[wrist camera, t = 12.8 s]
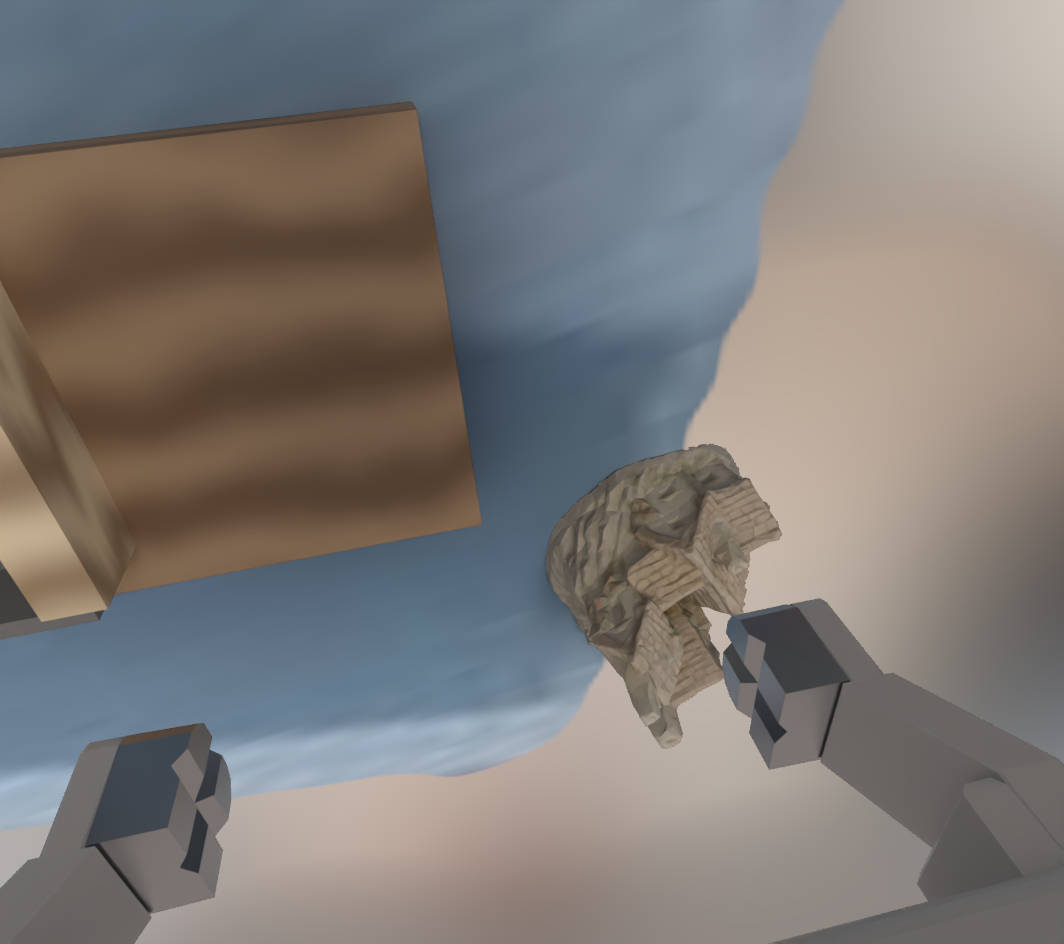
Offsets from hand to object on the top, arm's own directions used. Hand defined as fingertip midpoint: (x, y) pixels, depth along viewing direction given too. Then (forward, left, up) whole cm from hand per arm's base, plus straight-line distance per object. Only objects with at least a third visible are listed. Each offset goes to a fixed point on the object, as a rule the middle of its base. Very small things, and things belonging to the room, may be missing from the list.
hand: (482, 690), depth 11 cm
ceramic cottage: (+25, +14, -30) cm, 41 cm away
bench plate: (+5, -9, -30) cm, 31 cm away
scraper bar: (+5, -19, -26) cm, 32 cm away
